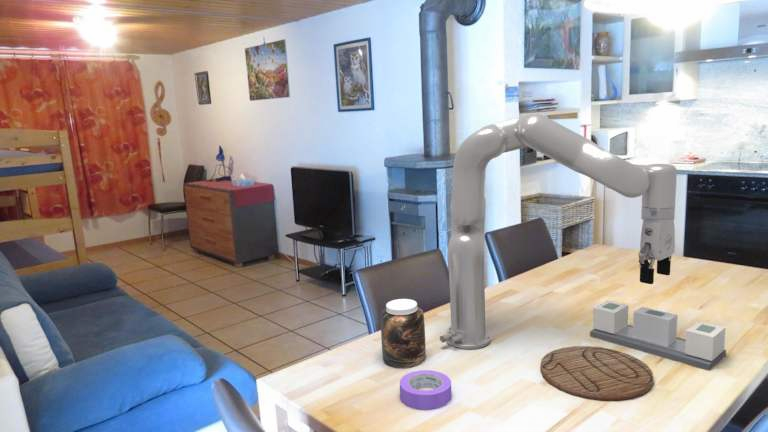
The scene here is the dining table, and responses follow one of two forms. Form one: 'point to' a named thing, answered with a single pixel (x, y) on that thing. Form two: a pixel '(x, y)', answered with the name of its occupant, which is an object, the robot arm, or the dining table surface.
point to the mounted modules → (699, 337)
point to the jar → (403, 334)
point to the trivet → (596, 373)
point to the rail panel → (656, 347)
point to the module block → (655, 326)
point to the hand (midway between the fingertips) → (655, 278)
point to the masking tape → (425, 397)
